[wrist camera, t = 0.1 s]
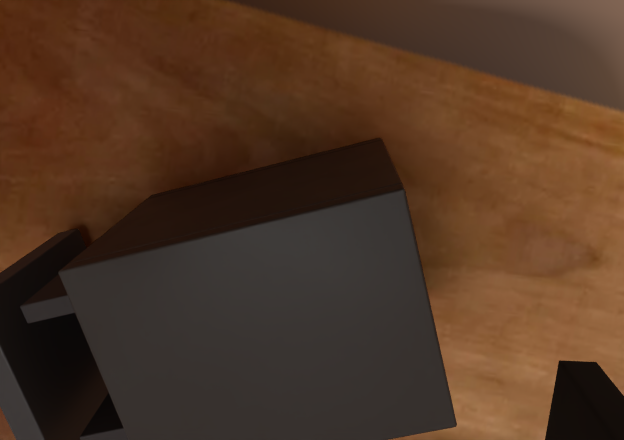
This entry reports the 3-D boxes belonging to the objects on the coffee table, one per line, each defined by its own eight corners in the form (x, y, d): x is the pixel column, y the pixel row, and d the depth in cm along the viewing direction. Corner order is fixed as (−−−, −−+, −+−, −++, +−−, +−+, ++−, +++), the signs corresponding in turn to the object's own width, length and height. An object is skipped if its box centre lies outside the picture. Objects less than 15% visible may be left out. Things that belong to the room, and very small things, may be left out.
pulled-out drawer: (94, 371, 33) (9, 485, 24) (37, 238, 30) (-78, 313, 22) (306, 325, 31) (294, 429, 23) (263, 181, 29) (233, 238, 20)
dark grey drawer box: (205, 349, 33) (146, 485, 23) (150, 195, 30) (56, 271, 20) (419, 304, 31) (457, 427, 21) (381, 137, 29) (404, 188, 19)
